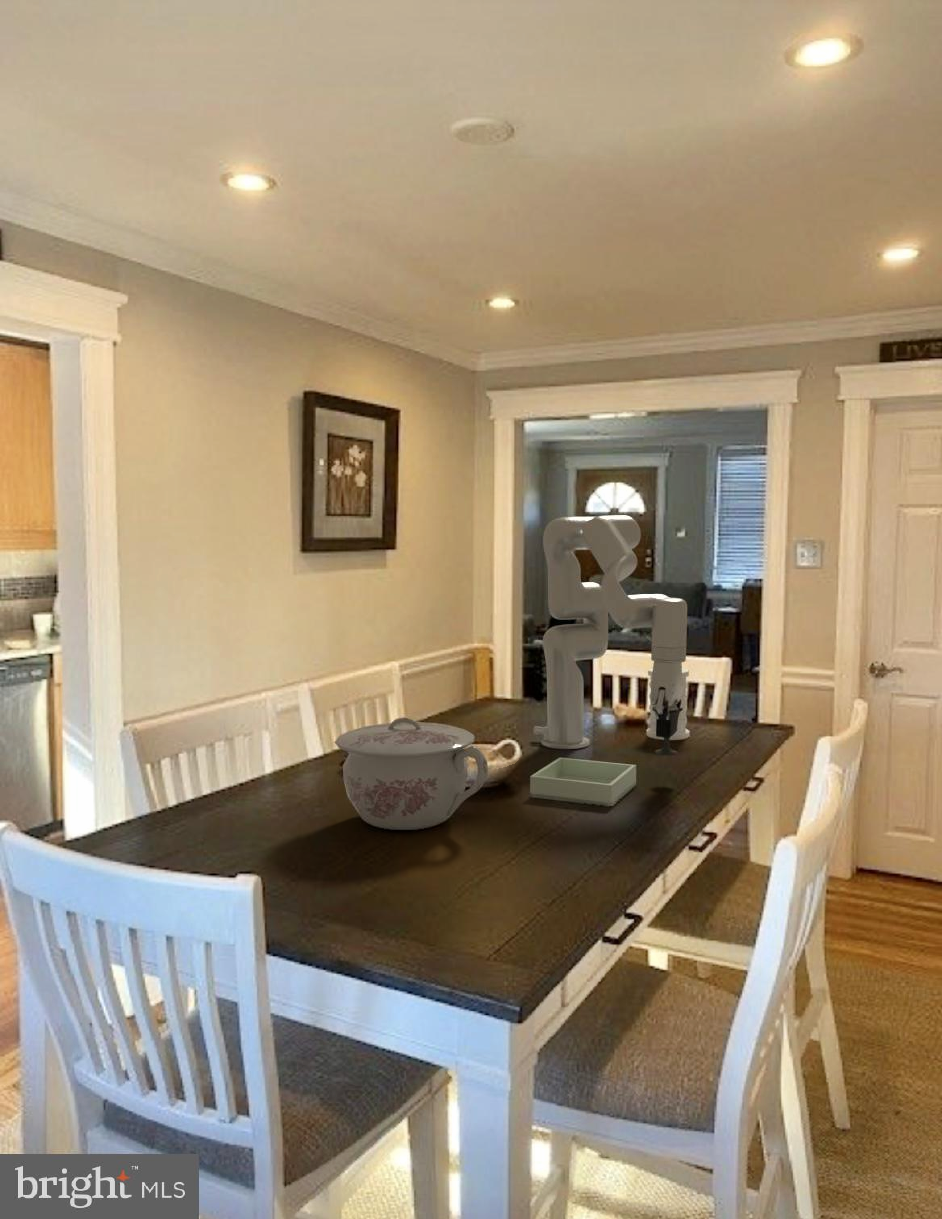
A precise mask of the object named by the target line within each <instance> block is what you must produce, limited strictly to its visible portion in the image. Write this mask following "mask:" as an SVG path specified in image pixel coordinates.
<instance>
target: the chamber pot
mask: <svg viewBox="0 0 942 1219" xmlns="http://www.w3.org/2000/svg"><path fill="white" fill-rule="evenodd" d="M474 742H475V735H474V734H473V733H472V732H470V731H468V730H467V729H464V728H461V727H457V726H453V725H451V724H443V723H435V722H420V721H416V720H414V719H412V718H410V717H399V718H395V719H394V720H393V721H392V722H389V723H379V724H374V725H373V724H372V725H366V726H362V727H359V728H356V729H355V728H354V729H352V730H348V731H346V732H344V733H341V734H340V735H338V737H337V738H336V740H335V741H334V743H335V745H336V746H337V748H339V749H340V750H342V751H345V752H346V753H347V752H348V753H349V755H348V757H346V759H345V761H344V763H343V764H342V778H343V783H344V788H345V792H346V795H347V798H348V800H349V802H351V804H352V806H353V807H354V809H355V810H356V812H357V813H358V814H359V816H360V818H361V819H362V821H364V822H365V823H367V824H368V825H370V826H373V827H376V828H380V829H383V828H384V830H387V829H389V830H388V831H394V830H413V831H420V830H419V829H421V830H424V828H425V829H429V828H431V827H435V826H437V825H441V824H443V823H444V822H446V821H447V820H449V818H450V817H451V816H452V815H453V814H454V813H455V812H456V810H457V809H458V808H459V806H461V804H463V802H464V801H465V800H467V799H468V798H469V797H471V796H473V795H474V794H475V793H477V792H478V791H479V790H480V789H481V788H482V786H483V785H484V784H485V782H486V781H487V778H488V775H489V774H488V772H489V765H488V759H487V758H486V756H485V753H484V752H482V750H481V749H479V747H477V746H476V745H473V743H474ZM468 746H469V747H468ZM467 757H469V758H473V759H474V760H475V762H476V765H477V766H476V768H477V775H476V778H475V779H476V780H475V781H474V782H473V784H472V785H471V786H470V787H469V788H468V789H467V790H466V785H467V781H468V758H467Z"/></svg>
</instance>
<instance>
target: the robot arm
mask: <svg viewBox="0 0 942 1219" xmlns="http://www.w3.org/2000/svg"><path fill="white" fill-rule="evenodd" d="M641 535H642V534H641V528H640V525H639V524H638V522H637V520H635V519H634V518H633V517H631V516H629V515H597V516H563V517H557V518H555V519H553V520H550V522H549V523H548V524H547V525H546V526H545V529H544V531H543V536H542V537H543V539H542V542H543V544H542V545H543V552H544V554H545V558H546V565H547V599H548V600H547V604H548V611H549V614H550V616H551V617H552V618H554V619H556V620H566V621H567V620H581V619H582V620H583V623H572V624H571V623H570V624H561V625H560V624H559V625H555V626H552V627H550V628H548V629H547V630H546V632H545V633H544V635H543V637H542V647H543V653H544V657H545V665H546V666H545V667H546V689H547V690H546V694H547V695H546V696H547V697H546V698H547V699H546V704H547V705H546V708H547V710H546V716H547V717H546V720H547V723H546V724H547V725H545V727H543V726H539V725H538V726H537V725H536V726H533V733H534V735H536V736H542V737H543V738H541V745H542V746H544V747H546V748H550V749H556V750H557V749H558V750H576V749H577V750H579V749H583V748H586V747H588V746H589V745H590V742H591V741H590V739H589V738H588V737H585V736H584V676H583V674H582V673H583V672H582V671H581V670H580V667H579V666H578V665H577V663H576V662H577V661H583V660H594V659H599V658H601V657H603V656H604V655H605V654H606V652H607V650H608V644H609V616H610V617H611V619H612V620H613V622H615V624H616V625H617V626H619V627H621V628H623V629H640V628H651V650H650V651H651V658H650V661H653V664H652V665H653V666H652V668H653V671H652V682H651V688H650V693H651V697H650V698H649V700H650V701H649V702H650V704H651V705H655V704H657V706H656V710H657V715H656V736H657V737H665V738H670V737H671V720H670V710H671V706H673V705H674V704H676V703H677V702H678V701H679V700H680V699H681V692H682V668H683V667H682V666H683V665H682V664H683V663H685V662H686V660H687V634H688V633H687V630H688V629H687V628H688V627H687V626H688V625H687V624H688V604H687V602H686V600H684V599H682V598H679V597H678V598H677V597H669V596H667V595H665V594H661V593H653V594H652V593H651V594H649V593H648V594H647V593H644V594H627V593H626V592H625V590H624V589H623V587H622V586H621V584H620V582H622V581H623V580H624V579H626V578H628V577H629V576H630V575H631V574H632V573H633V572H634V571H635V570H636V568H637V566H638V557H637V555H636V554H635V552H634V551H633V549H635V548H636V547H637V546H638V545H639V543H640V540H641ZM573 551H590V552H591V554H592V555H593V557H594V558H595V560H596V562H597V563H598V566H599V567H600V569H601V570H602V572H603V574H604V575H603V577H602V580H601V585H600V583H596V582H591V581H590V582H588V581H586V582H585V581H584V582H582V579H581V577H582V576H581V574H582V573H581V572H582V570H581V565H580V564H581V563H580V562H579V560H578V558H577V556H576V555H575V554H574V552H573ZM664 703H668V704H667V705H668V706H667V705H664ZM664 708H666V709H667V713H666V710H665V709H664ZM676 731H677V729H676Z"/></svg>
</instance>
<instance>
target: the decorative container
mask: <svg viewBox="0 0 942 1219" xmlns="http://www.w3.org/2000/svg"><path fill="white" fill-rule="evenodd" d="M652 671H653V667H652V668H648V669H647V675H648V676H649V677H650V681H649V683H648V686H649V689H651V682H652ZM687 677H689V669H686V668H683V667H682V692H681V706H680V708H682V709H683V710H682V711H681V712H680V713H679V717H678V723H677V731H676V732H675V734H674V735H673V736H671V737H670V738H669V741H679V740H686V739H689V738H690V736H691V735H690V734H691V733H690V732H691V731H690V730H688V729H687V728H686V727H687V725H686V724H687V722H688V719H687V714H686V713H687V711H688V706H687V700H688V694H687V688H688V683H687ZM648 696H649V697H648V698H649V699H650V697H651V692H649V695H648ZM679 701H680V700H679ZM679 701H678V702H679ZM678 702H677V703H678ZM653 706H655V705H651V703H650V704H649V706H648V708H649V709H648V710H649V712H650V716H649V718H648V721H649V723H650V724H649V726H650V727H649V728H647V729H646V736H647V737H648V738H651V739H654V740H659V741H660V740H662V741H664V738H663V737H657V736H656V714H655V711H653V710H652V708H653ZM688 737H689V738H688Z"/></svg>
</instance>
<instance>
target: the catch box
mask: <svg viewBox="0 0 942 1219" xmlns="http://www.w3.org/2000/svg"><path fill="white" fill-rule="evenodd" d="M529 782H530V783H529V784H530V785H529V791H530V792H529V793H530V795H529V797H530V798H537V799H545V800H553V801H560V802H561V801H562V802H568V803H576V804H577V803H578V804H584V803H586V804H585V805H592V804H595V805H594V806H600V805H603V806H602V807H609V806H612V807H613V806H615V804H617V803H618V802H619V801H620V800H621V799H622V798H623V797H624V796H625V795H627V793H629V792H630V791H631V790H632V789H634V787H635V786H637V764H629V763H628V764H626V763H620V762H619V763H617V762H607V761H598V760H588V759H579V758H568V757H558V758H557V759H555V760H553V761H552V762H550V763H549V764H547V765H546V766H544V767H542V768H541V769H539V770H538V771H537V772H535V773H533V774H532V775H530V778H529ZM619 799H620V800H619ZM617 801H618V802H617Z"/></svg>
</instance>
